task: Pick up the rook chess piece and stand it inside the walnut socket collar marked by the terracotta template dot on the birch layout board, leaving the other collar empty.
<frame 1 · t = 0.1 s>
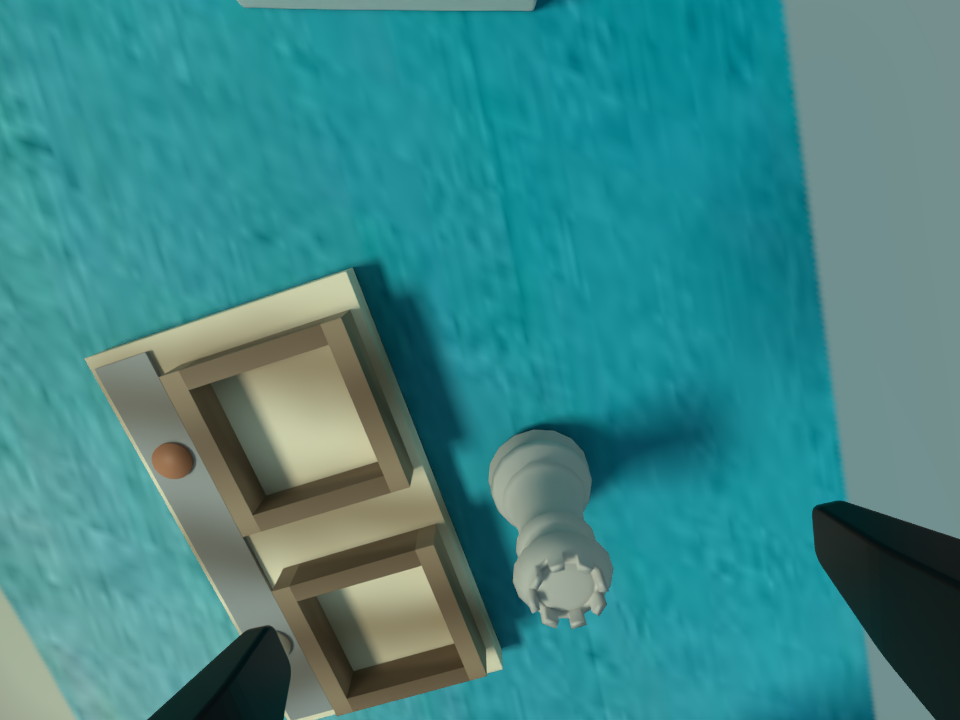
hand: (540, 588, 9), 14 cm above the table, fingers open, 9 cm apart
rook chess piece: (537, 468, 24), on the table
layout board: (322, 514, 25), on the table
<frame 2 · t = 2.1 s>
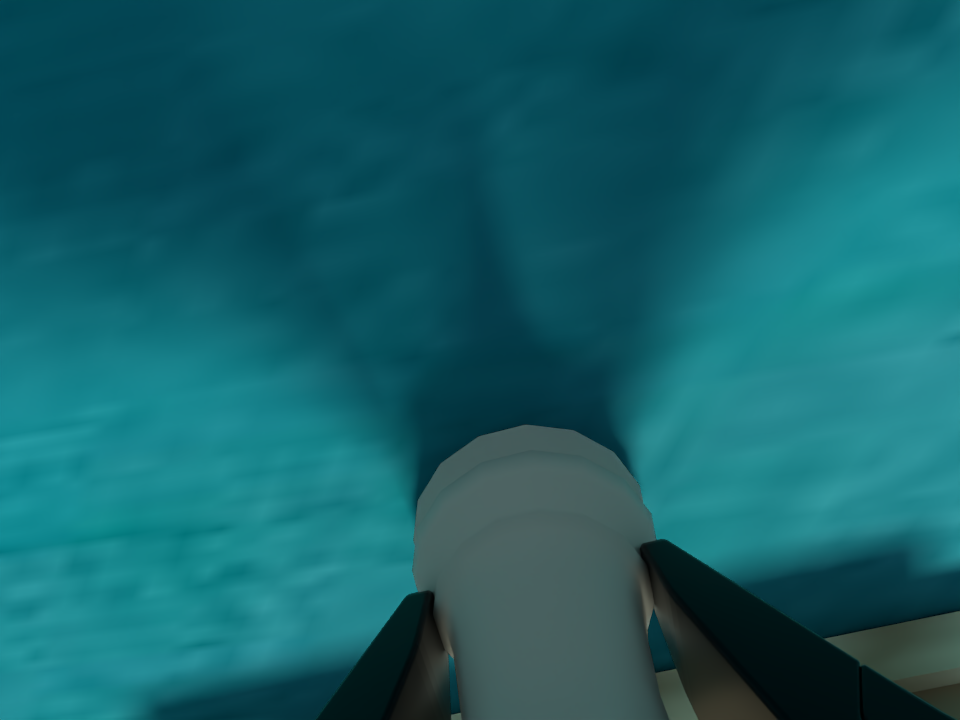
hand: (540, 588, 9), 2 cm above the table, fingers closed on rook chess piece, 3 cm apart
rook chess piece: (526, 512, 11), on the table, touching gripper
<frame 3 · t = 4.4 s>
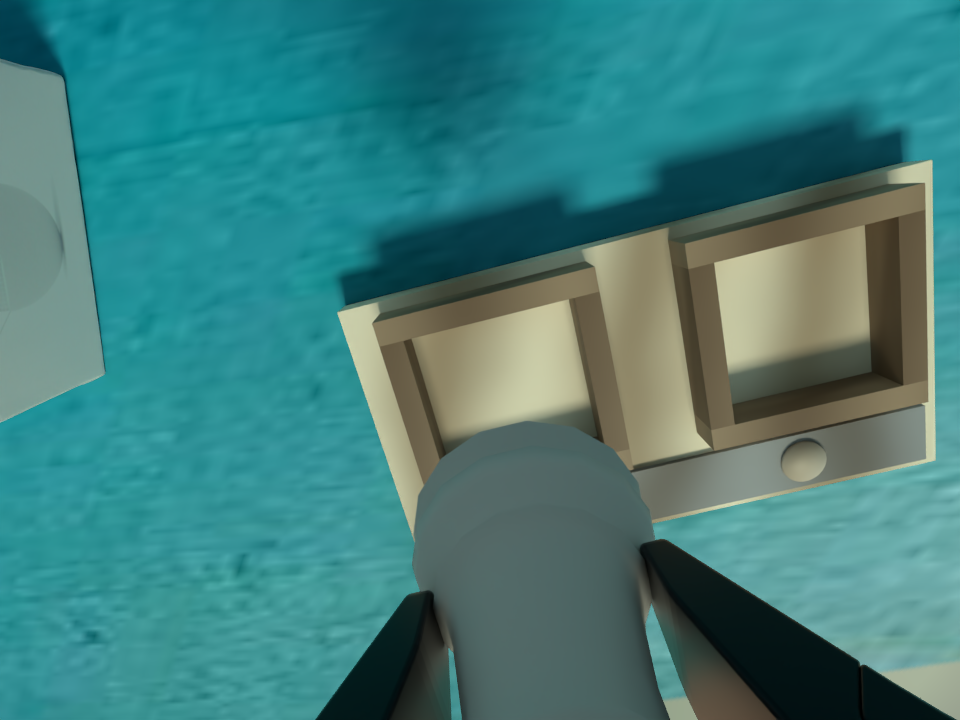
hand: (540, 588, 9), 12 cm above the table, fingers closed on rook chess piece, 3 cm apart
rook chess piece: (526, 508, 11), point 10 cm above the table, touching gripper
skincare box: (1, 231, 19), on the table
layout board: (640, 379, 21), on the table
when the fingers open (4 cm above the table, at t = 6.7 s): rook chess piece stays where it is, resting on layout board.
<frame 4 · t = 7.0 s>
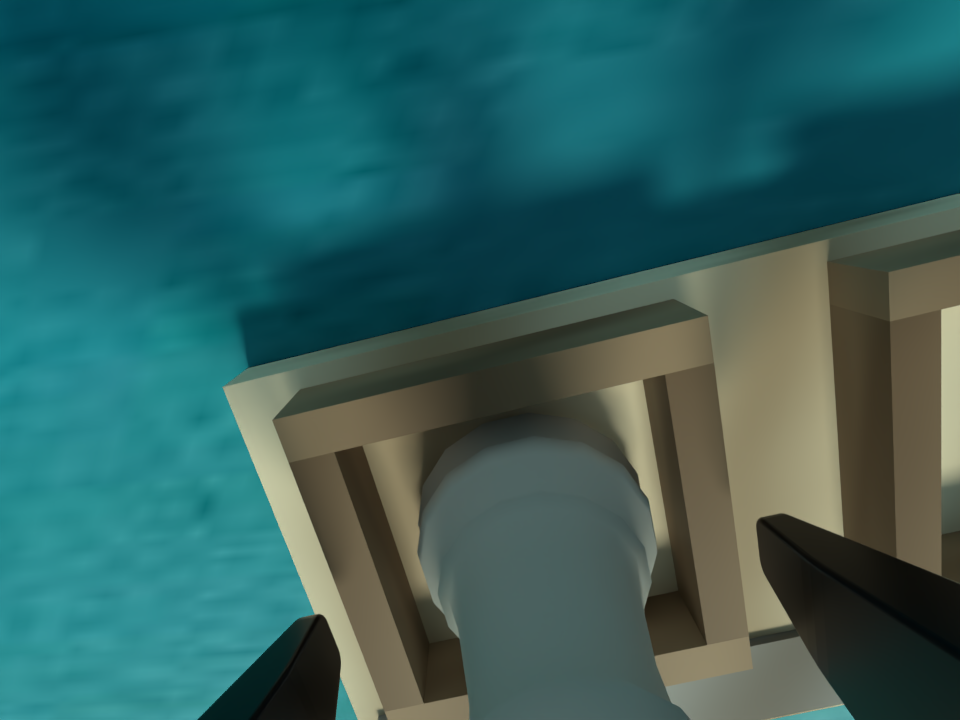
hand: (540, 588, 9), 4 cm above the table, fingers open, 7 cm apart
rook chess piece: (527, 499, 11), point 1 cm above the table, touching layout board
layout board: (746, 488, 12), on the table
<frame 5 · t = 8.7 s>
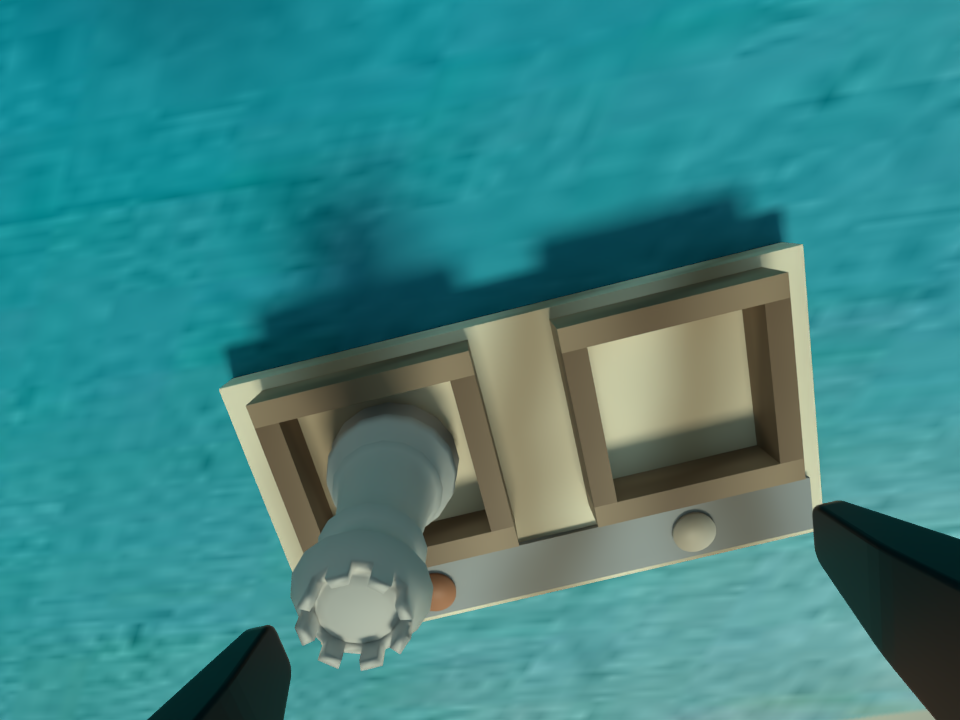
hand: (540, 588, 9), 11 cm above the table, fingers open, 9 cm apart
rook chess piece: (397, 453, 19), point 1 cm above the table, touching layout board
layout board: (535, 449, 21), on the table
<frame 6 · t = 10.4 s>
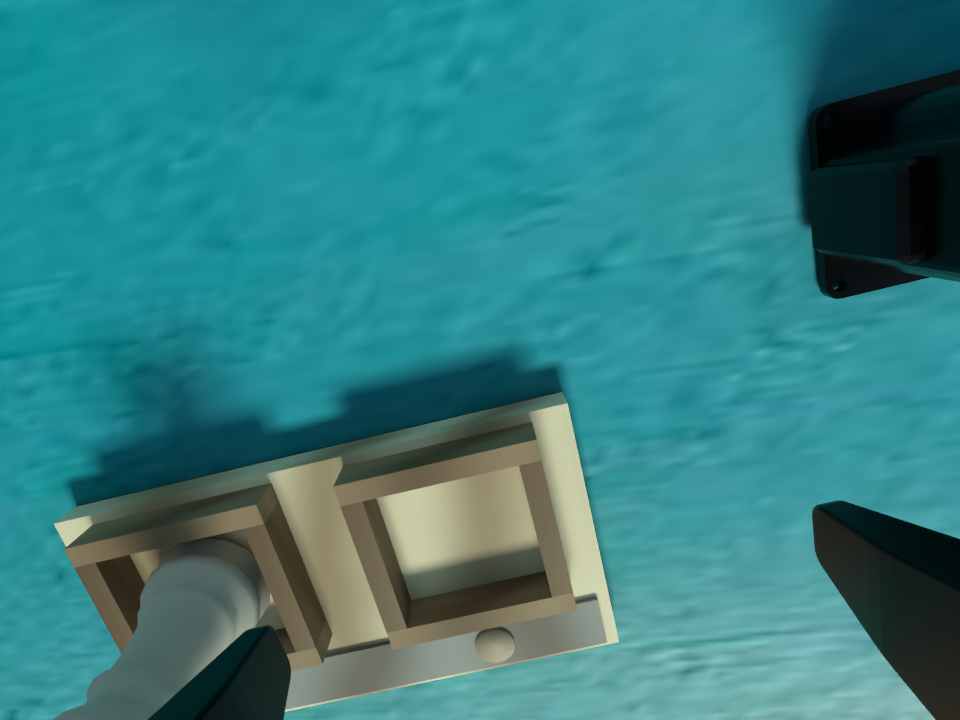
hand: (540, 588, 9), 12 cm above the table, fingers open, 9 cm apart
rook chess piece: (220, 576, 22), point 1 cm above the table, touching layout board
layout board: (355, 566, 23), on the table
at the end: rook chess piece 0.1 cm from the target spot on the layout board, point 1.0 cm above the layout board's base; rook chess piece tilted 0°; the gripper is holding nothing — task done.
